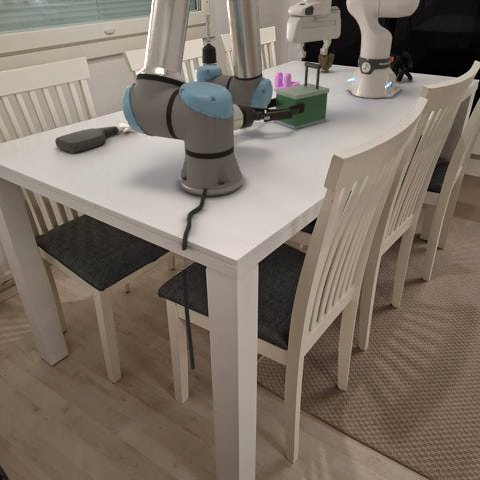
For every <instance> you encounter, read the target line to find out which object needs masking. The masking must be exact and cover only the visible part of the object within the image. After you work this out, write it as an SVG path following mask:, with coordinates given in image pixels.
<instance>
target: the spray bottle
mask: <svg viewBox="0 0 480 480" xmlns="http://www.w3.org/2000/svg"><path fill="white" fill-rule="evenodd" d="M130 131H134V130H133V129H132V128H131V127H130V126H129V124H128V123H119V124H116V125H113V126H105V127H98V128H97V127H96V128H94V127H93V128H87V129H83V130H82V129H81V130H78V131H74V132H70V133H67V134H64V135H61V136H58V137H56V138H55V140H54V142H55V145H56V147H57V148H58V149H61V150H63V151H66V152H68V153H71V154H76V153H79V152H84V151H87V150H90V149H93V148H96V147H99V146H101V145H103V144H104V143H105V140H106V137H110V136H113V135H117V134H119V133H121V132H123V133H126V132H130Z"/></svg>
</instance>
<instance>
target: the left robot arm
mask: <svg viewBox="0 0 480 480" xmlns="http://www.w3.org/2000/svg"><path fill="white" fill-rule="evenodd" d="M191 2H192V0H152V1H151V10H150V19H149V25H148V34H147V43H146V49H145V50H146V51H145V58H144V66H143V68H142V69H140V70H139V71H137V72H136V77H135V82H133V83H131V84H129V85H128V86H127V87H126V89H125V90H124V92H123V95H122V112H123V115H124V119H125V121H126V122H127V125H129V126H130V127H131V128H132V129H133V130H132V131H134V132H136V133H138V134H141V135H146V136H147V137H158V138H165V139H172V140H178V141H179V140H180V141H183V143H184V154H185V155H184V158H183V164H182V168H181V171H180V176H179V183H180V184H179V185H180V188H181V189H182V191H184V192H186V193H187V194H190V195H194V196H199V197H200V201H199V205H197V207H195V208H194V209H192V210H190V211H189V212H188V214H187V215H186V226H185V229H184V231H183V235H182V241H181V250H182V252H183V251H186V250H187V247H188V238H189V233H190V230H191V227H192V216H193V215H195V214H196V213H198V212H199V211H200V210H202V208H203V207H204V205H205V199H206V197H221V196H224V195H229V194H232V193H234V192H235V191H237V190H239V189H240V188H241V187H242V185H243V174H242V171H241V168H240V165H239V163H238V160H237V157H236V154H235V132H234V131H237V130H243V129H246V128H251V127H252V126H253V125H254V122H259V121H262V120H263V123H270V122H275V121H276V120H283V119H291V118H293V115H295V114H299V113H303V112H304V109H305V104H304V103H302V104H298V105H293V106H289V107H288V108H278V109H276V97H273V93H274V92H273V91H274V87H273V86H274V85H273V83H272V81H271V80H270V79H269V78H266V77H263V62H262V61H263V60H262V59H263V58H262V44H261V27H260V10H259V0H226V11H227V18H228V27H229V37H230V46H231V57H232V65H233V75H227V74H223V70H222V68H221V66H219V65H217V66H215V65H205V66H203V65H201V66H198V67H197V68H195V71H194V81H188V82H186V81H185V79H184V78H183V76H182V68H183V62H184V61H183V60H184V53H185V46H186V39H187V32H188V25H189V18H190V17H189V16H190V9H191ZM187 272H188V271H187V270H186V269H182V270H181V277H182V295H183V308H184V309H183V310H184V317H185V318H184V319H185V327H186V334H187V344H188V354H189V362H190V369H191V370H195V369H196V364H195V363H196V362H195V354H194V344H193V336H192V327H191V317H190V304H189V292H188V273H187Z"/></svg>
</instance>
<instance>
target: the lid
mask: <svg viewBox="0 0 480 480" xmlns="http://www.w3.org/2000/svg"><path fill="white" fill-rule="evenodd" d="M303 65H304V67H305V68H304V83H303V84H300V85H297V86H292V87H287V88H282V89H277V90H275V95H276V94H280V95H283V96H286V97H289V98H293V99H296V100H297V99H301V98H306V97H310V96H315V95H320V94H324V93H328V94H329V93H330V88H329V87H326V86H322V85H320V77H321V76H320V74H321V70H322V68H321V67H322V66H321V65H320V64H319V63H315V62H310V61H305V62H304V64H303ZM309 68H310V69H313V70H314V69H315V70H316V81H315V84H314V83H310V82H308V80H309V79H308V78H309Z"/></svg>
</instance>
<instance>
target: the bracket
mask: <svg viewBox="0 0 480 480" xmlns="http://www.w3.org/2000/svg"><path fill="white" fill-rule="evenodd" d="M274 76H275V77H274V82H275V83H274V90H275V91H276V90H277V89H282V88H287V87H292V86H297V85H301V82H300V81H297V80H292V73H290V72H286V73H284V74H283V72H281V71H277V72H276V73H275V75H274Z"/></svg>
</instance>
